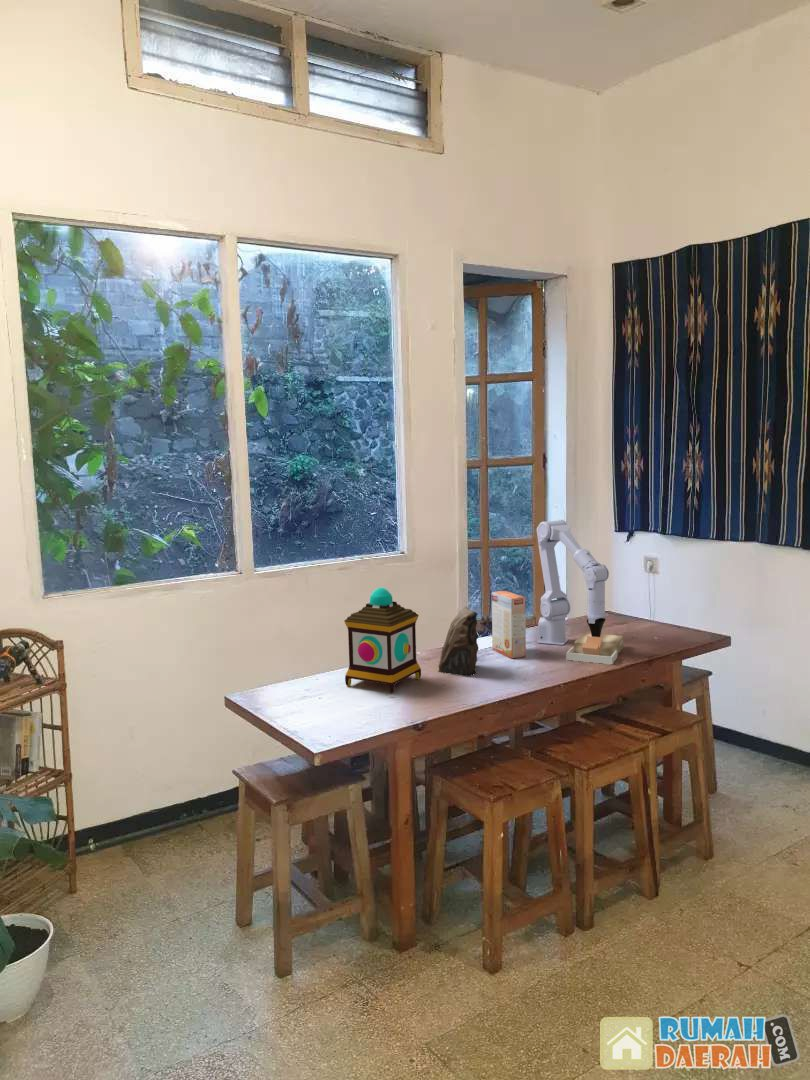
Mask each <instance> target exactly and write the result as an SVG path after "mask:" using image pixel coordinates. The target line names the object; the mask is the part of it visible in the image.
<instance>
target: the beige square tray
mask: <svg viewBox="0 0 810 1080" xmlns="http://www.w3.org/2000/svg"><path fill="white" fill-rule="evenodd" d="M587 636H592V635H591V632H583V633H582V634H581V635H580V636H579V637H578V638H577V639H576V640H575V641H574V642H573V647H574V653H582V654H584V653H583V648H582V647H583V643H586V639H587ZM600 637H602V640H603V643H602V647H601V651H600V655H604V656H612V654H613V653H614V652H615V650H616V651H617V656H618V655H619V654H620V652H621V651H622V650H623V649H624V635H615V634H604V633H603V634H602V633H601V635H600ZM621 649H622V650H621ZM618 653H619V654H618Z"/></svg>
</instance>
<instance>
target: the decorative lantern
mask: <svg viewBox="0 0 810 1080" xmlns="http://www.w3.org/2000/svg"><path fill="white" fill-rule="evenodd" d="M419 617H420V616H419V614H418V613H417V612H416V611H413V609H410V608H405V607H403V606H402V605H400V604H398V602H397V601H394V600H393V595H392V594H391V593H390V591H389V590H387V589H386V588H384V587H378V588H376V589H375V590H374V591H373V592H371V594H370V596H369V602H368V603H365V606H363V607H362V608H361V609H359V610H358V611H356V612H352V613H351V614H350V616H347V618H346V619H344V624H345V626H346V628H347V632H348V637H347V638H348V639H347V640H348V661H349V663H348V664H349V666H348V669H347V671H346V673H345V676H344V681H345V686H346V687H350V686H351V685H352V680H358V681H362V682H363V681H364V682H370V683H376V684H377V683H378V684H383V685H386V686H387V687H388V690H389V691H388V692H389V694H394V692H395V685H396V684H397V683H400V682H401V681H403V680H405V679H407V678H409V677H411V676H412V675H415V679H416V680H420V679H421V676H422V669H421V667H420V664H419V662H418V661H417V645H416V644H417V637H416V636H417V634H416V625H417V621H418V618H419Z"/></svg>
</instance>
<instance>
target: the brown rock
mask: <svg viewBox="0 0 810 1080" xmlns="http://www.w3.org/2000/svg"><path fill="white" fill-rule="evenodd" d="M478 615H479V614H478V613H477V612H476V611H474V610H472V609H470V608H469V607H468V606H465V605H464V607H463V608H462V609H461V610H460V611H459V612H458V613H457V614H456V615H455V617H454V618H453V620H452V621H451V623H450V626H449V628H448V630H447V631H448V632H447V634H446V638H445V641H444V644H443V646H442V648H441V653H440V657H439V659H440V660H439V662H438V671H437V672H438V673H442V672H443V674H448V673H451V674H450V675H454V674H457V675H456V676H461V675H462V676H461V677H472V676H474V675H476V674H477V673H476V671H475V670H476V667H477V666H476V665H477V662H478V652H479V645H478V641H477V640H478V635H477V625H478V619H477V617H478ZM475 673H476V674H475ZM473 674H474V675H473ZM471 675H472V676H471Z"/></svg>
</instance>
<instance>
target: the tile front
mask: <svg viewBox="0 0 810 1080" xmlns="http://www.w3.org/2000/svg"><path fill="white" fill-rule="evenodd" d="M582 648H583V653H584V654H588V655H599V656H600V650H599V644H592V643H583V647H582Z"/></svg>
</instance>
